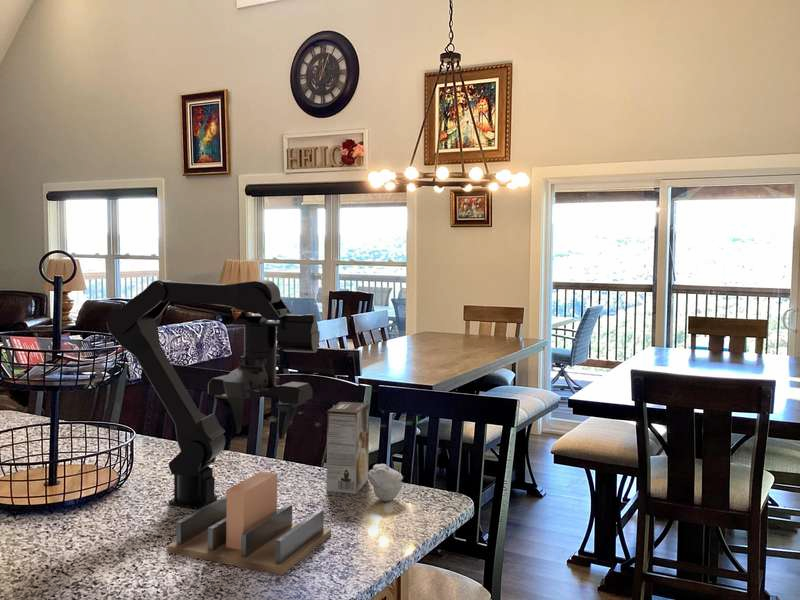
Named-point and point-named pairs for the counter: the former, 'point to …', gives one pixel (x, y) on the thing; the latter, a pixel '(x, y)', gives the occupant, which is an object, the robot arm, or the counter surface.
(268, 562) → the rack base
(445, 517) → the counter surface
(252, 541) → the rack dividers
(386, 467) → the white rounded lump
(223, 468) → the counter surface
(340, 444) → the coffee box
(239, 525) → the peach rectangular block
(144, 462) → the counter surface
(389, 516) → the counter surface
